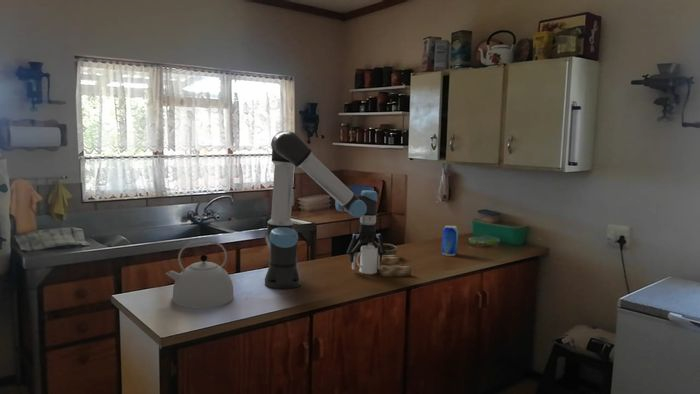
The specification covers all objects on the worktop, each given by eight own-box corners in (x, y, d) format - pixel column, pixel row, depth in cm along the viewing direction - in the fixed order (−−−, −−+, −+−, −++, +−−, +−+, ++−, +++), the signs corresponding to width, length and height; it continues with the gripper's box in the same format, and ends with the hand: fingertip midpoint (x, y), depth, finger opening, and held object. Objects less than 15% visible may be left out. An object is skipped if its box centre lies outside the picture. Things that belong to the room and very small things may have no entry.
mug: (360, 276, 235) (361, 250, 233) (350, 271, 242) (351, 246, 240) (380, 273, 241) (382, 248, 239) (370, 268, 248) (371, 244, 246)
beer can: (458, 254, 285) (460, 226, 283) (453, 257, 278) (455, 228, 276) (444, 251, 289) (446, 224, 287) (438, 254, 282) (440, 226, 280)
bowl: (402, 259, 268) (403, 241, 267) (374, 262, 259) (375, 243, 258) (387, 253, 280) (388, 235, 278) (360, 256, 271) (361, 237, 269)
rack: (382, 276, 235) (383, 267, 235) (369, 263, 256) (369, 255, 256) (410, 275, 239) (411, 267, 238) (395, 263, 260) (395, 255, 259)
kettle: (167, 311, 181) (167, 249, 178) (164, 291, 201) (163, 235, 198) (238, 304, 190) (239, 246, 187) (228, 286, 211) (228, 233, 208)
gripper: (345, 225, 232) (343, 271, 235) (394, 224, 238) (391, 270, 241) (341, 221, 239) (339, 266, 242) (389, 221, 245) (386, 265, 248)
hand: (365, 268), depth 241 cm, fingers open, 11 cm apart
